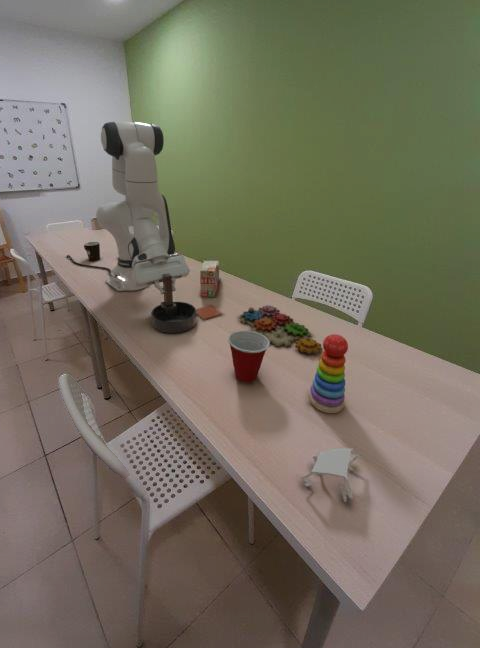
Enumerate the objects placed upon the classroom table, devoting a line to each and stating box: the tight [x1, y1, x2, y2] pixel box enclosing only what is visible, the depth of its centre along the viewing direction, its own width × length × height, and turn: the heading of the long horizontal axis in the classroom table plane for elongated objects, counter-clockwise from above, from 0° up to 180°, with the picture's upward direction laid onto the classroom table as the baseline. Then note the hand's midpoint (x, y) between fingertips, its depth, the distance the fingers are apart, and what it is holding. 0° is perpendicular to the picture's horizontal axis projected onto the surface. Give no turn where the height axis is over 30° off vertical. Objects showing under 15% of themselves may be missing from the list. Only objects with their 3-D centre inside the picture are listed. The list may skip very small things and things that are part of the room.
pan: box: [150, 301, 198, 334], centre depth 109 cm, size 16×16×4 cm
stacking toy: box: [308, 333, 349, 414], centre depth 69 cm, size 8×8×19 cm
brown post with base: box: [160, 273, 177, 315], centre depth 104 cm, size 5×4×14 cm
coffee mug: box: [83, 241, 101, 262], centre depth 181 cm, size 12×9×10 cm
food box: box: [199, 260, 220, 298], centre depth 136 cm, size 21×6×12 cm, turn 170°
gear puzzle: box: [239, 305, 323, 355], centre depth 101 cm, size 31×16×4 cm, turn 25°
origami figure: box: [299, 447, 360, 503], centre depth 55 cm, size 12×8×5 cm
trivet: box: [195, 304, 222, 321], centre depth 116 cm, size 8×8×1 cm
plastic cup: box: [227, 329, 271, 384], centre depth 80 cm, size 11×11×12 cm
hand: (168, 292), depth 103 cm, fingers closed on brown post with base, 2 cm apart
